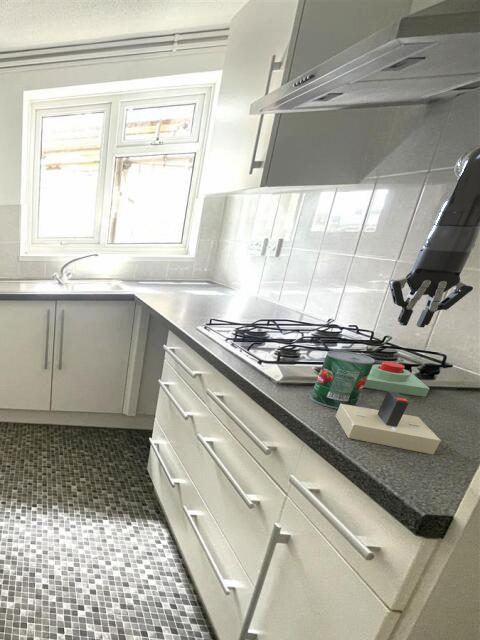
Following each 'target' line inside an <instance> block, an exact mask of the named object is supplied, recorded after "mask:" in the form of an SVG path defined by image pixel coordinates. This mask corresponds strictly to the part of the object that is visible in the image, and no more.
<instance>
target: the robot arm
mask: <svg viewBox="0 0 480 640" xmlns="http://www.w3.org/2000/svg"><path fill="white" fill-rule="evenodd" d="M453 171H454V175H455V176H456V177H457V181H456V183H455V185H454V187H453V189H452V192H451V194H450V195H449V196H448V197H447V198H446V199H445V200H444V201H443V202H442V204H441V206H440V208H439V210H438V212H437V214H436V217H435V219H434V221H433V223H432V225H431V228H430V230H429V231H428V233H427V234H426V236H425V238H424V241H423V243H422V245H421V248H420V250H419V252H418V255H417V257H416V259H415V262H414V263H413V265H412V268H411V270H410V272H409V273H408V274H407V275H406V276H405V277H403V278H399V279H391V280H389V282H388V285H389V288H390V289H389V290H390V293H391V297H392V303H393V304H394V305H397V306H398V307H401V310H400V313H399V315H398V317H397V322H398V323H399V325H400V326H403V327H404V326H405V327H406V326H408V324H409V322H410V319H411V317H412V315H413V313H414V307H416V304H418V301H420V300H421V299H422V297H423V296H426V303H425V305H424V306H425V307H424V308H425V309H422V311H421V313H420V315H419V317H418V320H417V322H416V325H415V326H416V327H418V328H425V326H428V325H430V323H431V320H432V319H433V317H434V315H435V313H436V312H438V311H447V310H449V309H450V308H452V307H453V306H454V305H455V304H456V303H458V302H459V301H460V300H462V299H463V298H464V297H465V296H467V295H468V294H469V293H471V292H472V291H473V289H474V287H473V286H471V285H469V284H465V283H464V282H462V281H461V273H462V271H463V270H464V268H465V266H466V264H467V261H468V259H469V257H470V255H471V253H472V251H473V249H474V248H475V246H476V244H477V243H476V242H477V240H478V238H479V235H480V144H477V145H475V146H474V147H472V148H470V149H468V150H467V151H465V152H464V153H463V154H462V155H461V156H460V157H459V158H458V159H457V161H456V163H455V164H454V169H453ZM406 284H407V285H408V287H409V289H410V290H409V292H408V293H407V295H406V298H404V293H403V290H402V289H404V288H405V286H406ZM450 289H451V290H452V292H451V293H449V294H448V295H447V296H446V297H444V298H443V295H444V293H446V292H447V291H449V290H450ZM442 298H443V299H442Z"/></svg>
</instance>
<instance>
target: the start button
mask: <svg viewBox="0 0 480 640" xmlns="http://www.w3.org/2000/svg"><path fill="white" fill-rule="evenodd" d="M380 364H381V366H380V369H382V370H384V371H388V372H393V373H402V372H403V370H404V369H405V364H401V363H398V362H394V361H382V362H381V363H380Z"/></svg>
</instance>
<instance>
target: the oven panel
mask: <svg viewBox="0 0 480 640" xmlns="http://www.w3.org/2000/svg"><path fill="white" fill-rule="evenodd" d="M378 411H379V409H375V408H369V407H364V406H357V405H355V406H351V405H346V404H340V406H339V408H338V409H337V411H336V413H335V418H336V420H337V421H338V423H339V425H340V427H341V429H342V430H343V432H344V433H345V435H346V436H347V438H348V439H352V440H356V441H362V442H367V443H372V444H376V445H382V446H387V447H391V448H397V449H403V450H407V451H412V452H418V453H422V454H428V455H431V456H432V455H435V453H436V451H437V449H438V447H439V445H440V444H441V442H442V440H441V439H440V438H439V436H438V435H436V433H435V432H434V431H433V430H432V429H431V428H429V426H428V425H426V423H425V422H424V421H423V420H422V419H421V418H420V417H419V416H415V415H409V414H405V413H404V414H403V416H402V418H401V420H400V422H399V424H398V426H397V427H396V426H390V425H386V424H385V423H384V421H383V420H382V419H381V418H380V417H379V415H378Z"/></svg>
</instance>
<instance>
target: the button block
mask: <svg viewBox="0 0 480 640" xmlns="http://www.w3.org/2000/svg"><path fill="white" fill-rule="evenodd" d="M381 364H382V363H380V364H377V363H376V364H373V366H372V369H371V371H370V373H369V375H368V378H367V380H366V382H365V384H364V387H363V389H364V388H366V389H371V390H377V391H378V390H379V391H383V392H384V391H385V392H388V391H390V392H397V393H399V394H404V395H410V396H417V397H422V398H426V397H427V396H428V393H429V392H430V387H429V386H427V384H425V383H424V382H423V381H422V380H420V379H419V378H418V377H417V376H416V375H414V374H413V373H412V372H411V371H410V370H408V369H405V368H404V370H403V372H402V373H393V372H388V371H384V370H382V369H380V366H381Z"/></svg>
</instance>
